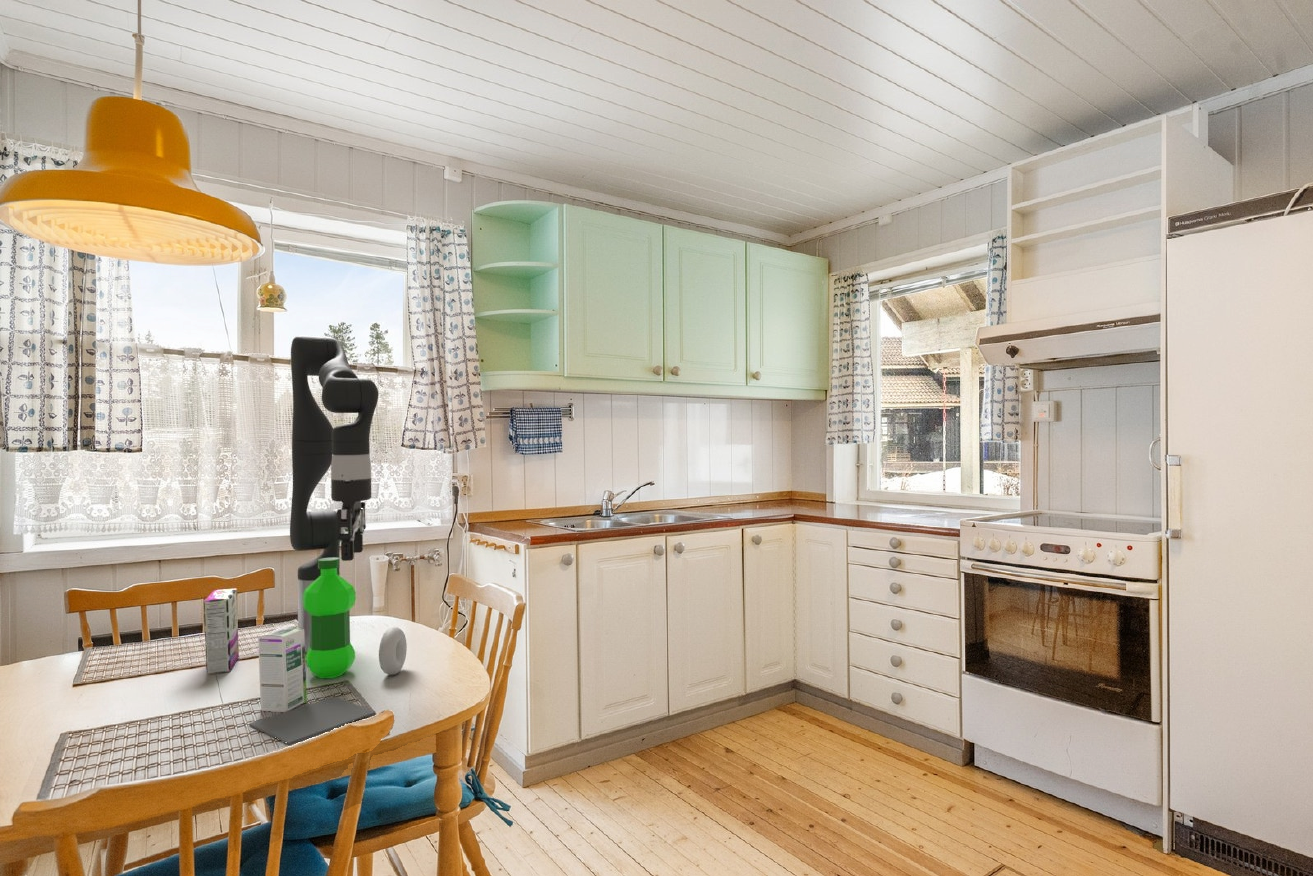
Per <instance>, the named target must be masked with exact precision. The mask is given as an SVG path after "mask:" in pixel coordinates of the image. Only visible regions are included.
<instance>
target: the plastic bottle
mask: <svg viewBox="0 0 1313 876" xmlns="http://www.w3.org/2000/svg"><path fill="white" fill-rule="evenodd" d="M338 567H339V568H340V567H341V566H340V560H339V558H335V557H331V558H322V559H319V560H318V569H321V576H320V577H318V578H317V579H316V580H315V581H314V582H313V583H312V584H311V585H309V586H308V587H307V588H306V589H305V591H304V594H303V605H304V609H305V610H306V611H307V612H308V613H309V614H310V648H309V649H308V651H307V652H306V653H305V665H306V667H307V668H308V670H309V671H310V672H311V673H312V675H313V674H314V675H315V676H316V677H317V678H318V679H323V678H327V679H334V678H337V677H341V676H343V675H344V674H343V673H345V672H346V671H347V670H348V669H350V668H351V667H352V665H353V663H354V662H355V659H356V652H355V649H354V646H353V645H352V644H351V625H350V623H351V621H350V619H351V618H350V615H351V614H350V610H351V609H352V608H353V607H354V606H355V604H356V595H357V593H356V591H355V587H354V586H353V585H352V584H350V583H349V581H347V580H346V579H344V578H343V577H341V575H337V568H338Z"/></svg>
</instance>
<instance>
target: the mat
mask: <svg viewBox="0 0 1313 876" xmlns="http://www.w3.org/2000/svg"><path fill="white" fill-rule="evenodd" d="M373 715H376V711H374V710H371V709H369V708H367V707H364V706H361V705H359V704H356V703H354V702H351V701H348V700H346V699H344V698H341V697H338V696H336V695H333V696H330V697H327V698H324V699H322V700H318V701H315V702H312V703H309V704H305V705H302V706H299V707H295V708H293V709H291V710H289V711H286V712H283V713H281V712H279V713H278V714H277V713H276V714H274V715H271V716H268V717H265V718H262V719H259V720H258V719H257V720H255V721H252V722H249V724H248V725H249V727H252V728H253V729H255V728H256V729H255V730H257V729H258V730H257V731H259V730H260V731H259V732H261V731H262V733H263V732H265V733H266V734H265V733H264V734H265V735H267V734H268V736H269V735H270V737H271V736H272V738H273V737H276V738H278V739H279V740H282V741H284V742H287V743H288V744H286V745H287V746H290V745H292V744H296V743H298V742H300V741H304V740H306V739H309V738H311V737H312V738H313V737H315V736H317V735H320V734H323V733H326V732H329V731H331V730H330V729H332V728H335V729H337V728H339V727H338V726H340V727H342V726H341V725H343V726H345V725H344V724H345V723H349V722H351V723H353V722H352V721H353V720H357V719H360V720H363V719H365V718H368V717H371V716H373ZM364 717H365V718H364ZM362 718H363V719H362ZM357 721H358V720H357ZM349 724H350V723H349ZM336 727H337V728H336ZM332 730H333V729H332ZM322 732H323V733H322ZM308 737H309V738H308ZM279 740H278V741H279Z"/></svg>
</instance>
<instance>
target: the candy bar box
mask: <svg viewBox="0 0 1313 876" xmlns="http://www.w3.org/2000/svg"><path fill="white" fill-rule="evenodd" d="M237 595H238V594H237V588H224V589H216V590H215V589H214V590H213V591H212V592H211V593H210V594H209V595H208V597H206V598H205V599H204V601H203V615H204V616H203V618H204V620H203V621H204V639H205V643H204V644H205V645H204V646H205V667H206V668H205V670H206V672H205V673H206V675H215V673H216V674H223V673H229V672H232V669H234V668H233V667H234V666H235V665H236V662H237V661H238V659H239V658H240V651H239V650H240V649H239V627H238V626H239V625H238V598H237V597H238V596H237ZM238 657H239V658H238Z"/></svg>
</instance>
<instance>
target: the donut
mask: <svg viewBox="0 0 1313 876" xmlns="http://www.w3.org/2000/svg"><path fill="white" fill-rule="evenodd" d="M407 645H408V643H407V639H406V633H404V631H403V629H401V628H399V627H396V626H393V627H390V628H388V629H387V630H386V631H385V632H384V633H383V635H382V637H381V640H380V644H379V647H378V648H379V649H378V661H379V665H380V669H381V670H382V672H383V673H384V674H386V675H388V676H394V675H396V674H398V673H399V672H401V670H402V669H403V667H404V664H405V661H406V657H407V651H408V650H407V648H408V646H407Z"/></svg>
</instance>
